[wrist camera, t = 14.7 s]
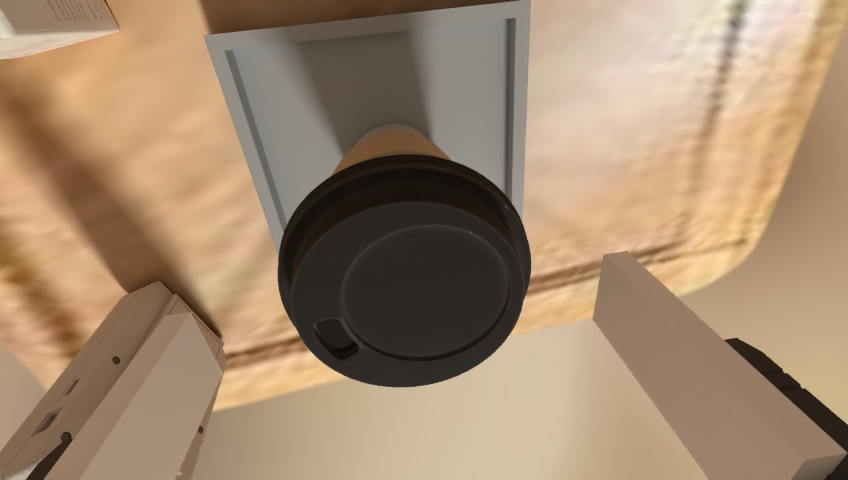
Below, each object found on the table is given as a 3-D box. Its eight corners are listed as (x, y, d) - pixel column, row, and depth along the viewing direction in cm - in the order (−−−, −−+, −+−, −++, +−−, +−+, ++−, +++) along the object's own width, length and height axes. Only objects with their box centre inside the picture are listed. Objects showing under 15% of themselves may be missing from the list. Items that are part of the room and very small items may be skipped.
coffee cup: (297, 180, 25) (211, 340, 12) (378, 58, 22) (376, 102, 9) (408, 249, 29) (431, 429, 16) (491, 152, 26) (603, 279, 13)
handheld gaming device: (164, 275, 28) (118, 296, 28) (39, 459, 16) (-45, 499, 16) (236, 349, 33) (197, 368, 33) (184, 539, 20) (119, 571, 20)
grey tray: (216, 34, 21) (203, 35, 20) (520, 1, 22) (530, -1, 20) (297, 283, 30) (293, 297, 29) (513, 254, 31) (520, 266, 29)
